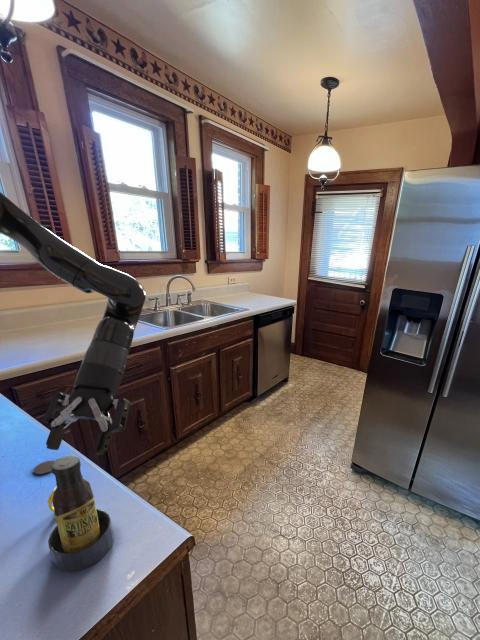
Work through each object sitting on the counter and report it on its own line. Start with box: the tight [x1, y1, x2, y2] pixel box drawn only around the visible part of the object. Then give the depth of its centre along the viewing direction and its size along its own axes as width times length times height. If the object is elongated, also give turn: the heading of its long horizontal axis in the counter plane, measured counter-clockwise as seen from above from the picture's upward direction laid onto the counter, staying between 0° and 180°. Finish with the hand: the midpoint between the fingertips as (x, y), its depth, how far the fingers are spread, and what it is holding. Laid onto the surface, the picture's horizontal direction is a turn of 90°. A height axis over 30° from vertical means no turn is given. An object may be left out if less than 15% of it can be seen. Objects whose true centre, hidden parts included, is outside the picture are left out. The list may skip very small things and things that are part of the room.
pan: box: [47, 508, 115, 573], centre depth 60 cm, size 10×10×4 cm
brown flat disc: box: [33, 460, 55, 476], centre depth 80 cm, size 5×5×1 cm
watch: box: [47, 485, 57, 513], centre depth 68 cm, size 6×3×6 cm, turn 138°
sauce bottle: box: [51, 454, 101, 553], centre depth 57 cm, size 6×6×20 cm
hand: (75, 451), depth 55 cm, fingers open, 8 cm apart
